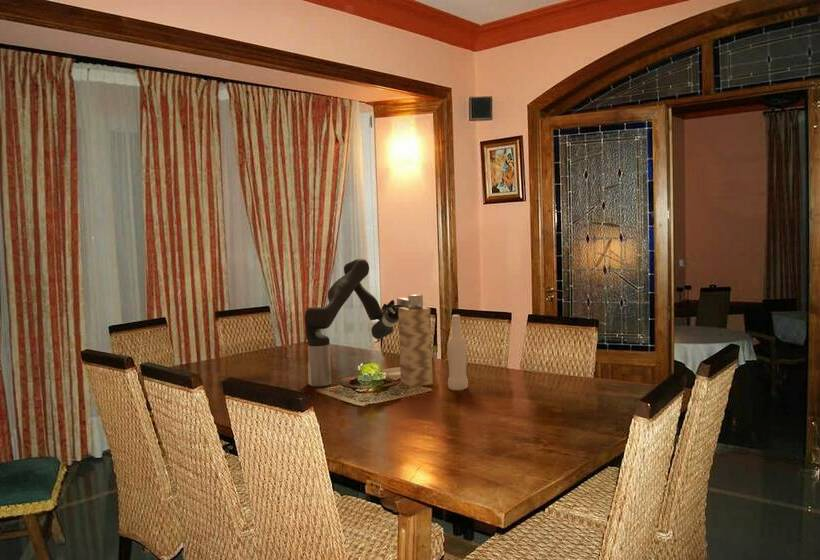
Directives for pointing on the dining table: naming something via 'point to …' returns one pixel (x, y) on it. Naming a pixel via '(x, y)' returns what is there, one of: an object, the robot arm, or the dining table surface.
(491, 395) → the dining table surface
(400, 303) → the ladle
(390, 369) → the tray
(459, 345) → the bottle
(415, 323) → the brown wavy-grained wooden cylinder
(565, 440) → the dining table surface
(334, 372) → the dining table surface
